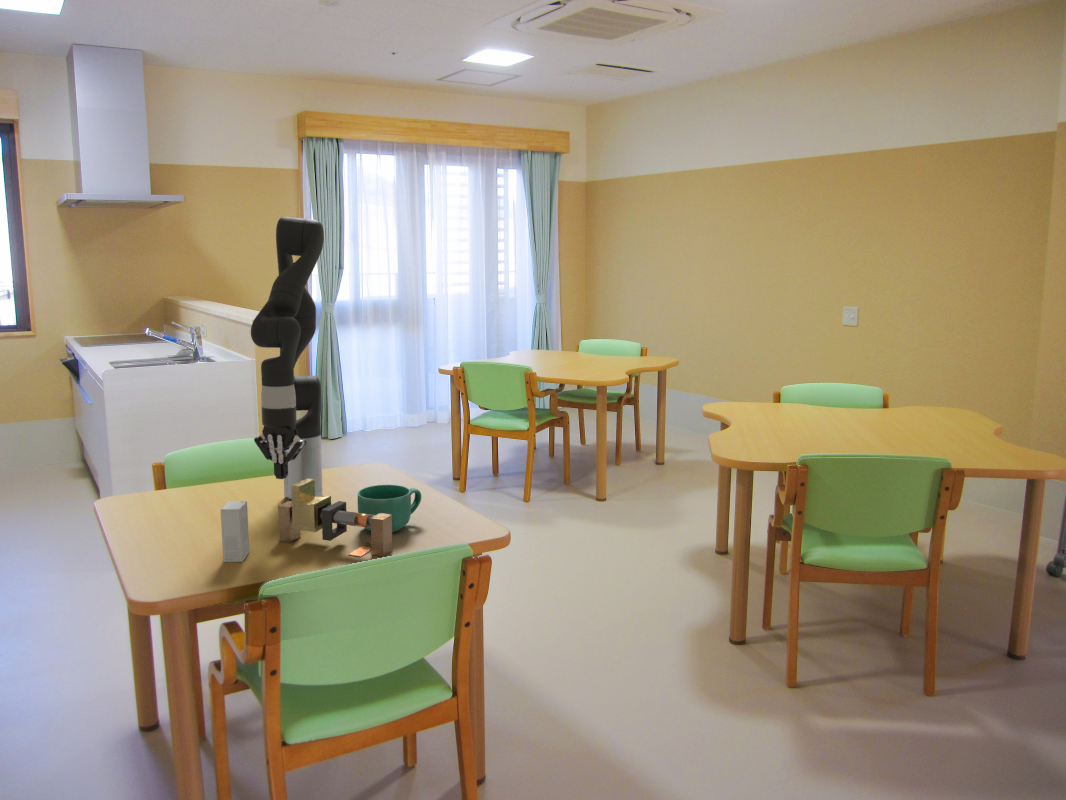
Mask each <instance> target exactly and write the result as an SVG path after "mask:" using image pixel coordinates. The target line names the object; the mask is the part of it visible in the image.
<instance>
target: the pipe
mask: <svg viewBox="0 0 1066 800" xmlns="http://www.w3.org/2000/svg"><path fill="white" fill-rule="evenodd" d="M277 507H278V508H277V509H278V513H277V514H278V537H279V538H278V539H279V540H278V541H279V542H284V543H292V542H294V541H296V540H298V539H300V538H301V531H302V530H298V529H293V519H292V500H287V501H284V502H283V503H281V504H278V506H277ZM322 509H324V508H318V521H322ZM332 524H336V525H337V524H344V525H347V526H352V527H358V528H359V527H360V528H364V527H365V528H364V529H366V528H371V531H370V537H371V538H370V539H371V540H370V542H365V543H364V544H363V545H361V546H359V547H358V548H357V549H355V550H353V551H352V552H350V553H349V554H348V556H351V557H359V558H361V557H363V556H365V555H366V554H368V553H369V552H370V551H371V556H377V557H382V556H384V557H385V556H386V555H388V554H390V553H391V552H392V551H393V533H392V515H391V514H384V513H379V514H377V515H371V514H363V513H358V512H354V511H348V510H346V511H341V510H338V511H336V512H335V513H333V514H332ZM391 550H392V551H391ZM390 551H391V552H390Z"/></svg>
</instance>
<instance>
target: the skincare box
mask: <svg viewBox="0 0 1066 800" xmlns="http://www.w3.org/2000/svg"><path fill="white" fill-rule="evenodd" d="M220 522H221V523H220V524H221V527H220V528H221V541H222V559H223V560H222V561H223V562H224V563H243V562H244V560H245V558H246V557H247V556H248V555H249V553H250V533H249V514H248V501H247V500H227V502H226V503H225V504H224V505H223V506H222V507H221V508H220Z"/></svg>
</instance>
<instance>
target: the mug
mask: <svg viewBox="0 0 1066 800" xmlns="http://www.w3.org/2000/svg"><path fill="white" fill-rule="evenodd" d="M413 494H414V498H413V502H412V495H413ZM421 501H422V493H421V491H420V490H419V489H418V488H415V487H410V488H408V487H406V486H403V485H397V484H377V485H371V486H367V487H364V488H362V489H359V490H358V491H357V513H363V514H371V515H377V514H379V513H384V514H391V515H392V532H393V533H396V532H398V531H399V530H400V529H402V528H404V527H405V526H407V525H408V523H410V520H411V516H412V514H414V512H416V510H417V508H419V506H420V504H421ZM363 528H364V529H366V530H367V531H370V532H371V528H365V527H363ZM397 530H398V531H397ZM395 531H396V532H395Z"/></svg>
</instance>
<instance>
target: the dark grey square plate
mask: <svg viewBox="0 0 1066 800" xmlns="http://www.w3.org/2000/svg"><path fill="white" fill-rule="evenodd" d="M338 510H341V511H347V501H341V500H340V501H339V500H338V501H336V502H334V503H331V505H330V506H328V507H326V508H324V509H322V529H321V531H322V532H321V533H322V535H321V536H322V537H321V538H322V539H321V540H323V541H328V542H329V541H333V540H334V539H336V538H337V537H339V536H342V534H345V533H346V532H347V531H348V530H347V529H348V527H347V526H348V525H344V524H337V523H336V527H335V528H333V523H332V514H333V513H335V512H336V511H338Z"/></svg>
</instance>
